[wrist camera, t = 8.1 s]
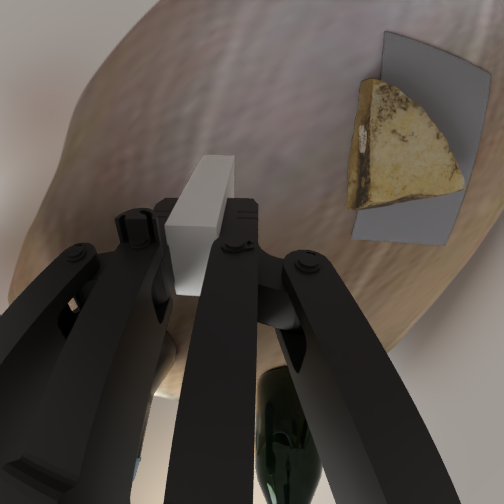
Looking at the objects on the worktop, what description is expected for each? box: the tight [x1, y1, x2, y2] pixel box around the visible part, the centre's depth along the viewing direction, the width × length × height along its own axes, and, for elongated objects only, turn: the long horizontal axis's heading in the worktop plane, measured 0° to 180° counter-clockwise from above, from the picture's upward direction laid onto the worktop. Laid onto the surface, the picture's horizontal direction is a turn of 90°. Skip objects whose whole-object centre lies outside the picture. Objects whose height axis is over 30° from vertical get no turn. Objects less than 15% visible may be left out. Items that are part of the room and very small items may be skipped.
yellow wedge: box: [346, 78, 465, 210], centre depth 21 cm, size 11×9×10 cm
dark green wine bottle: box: [255, 368, 323, 504], centre depth 32 cm, size 10×10×33 cm
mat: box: [351, 31, 491, 246], centre depth 22 cm, size 12×20×1 cm, turn 178°
